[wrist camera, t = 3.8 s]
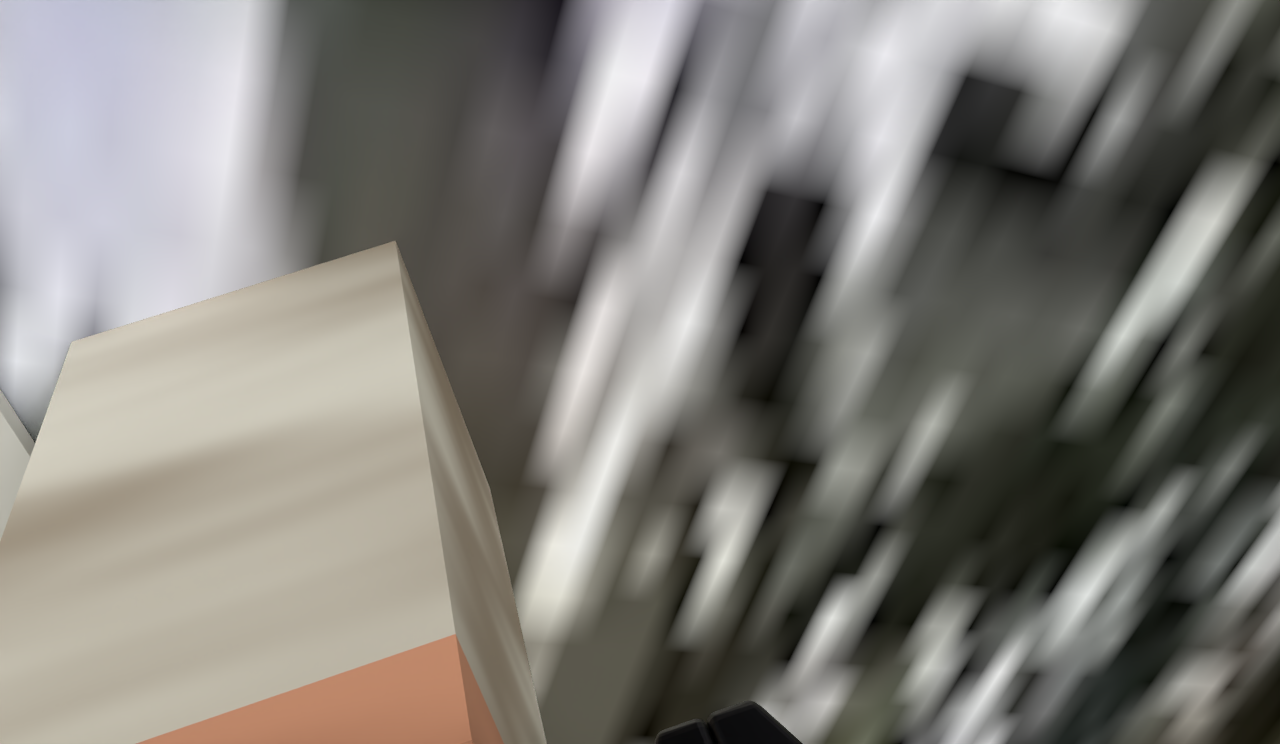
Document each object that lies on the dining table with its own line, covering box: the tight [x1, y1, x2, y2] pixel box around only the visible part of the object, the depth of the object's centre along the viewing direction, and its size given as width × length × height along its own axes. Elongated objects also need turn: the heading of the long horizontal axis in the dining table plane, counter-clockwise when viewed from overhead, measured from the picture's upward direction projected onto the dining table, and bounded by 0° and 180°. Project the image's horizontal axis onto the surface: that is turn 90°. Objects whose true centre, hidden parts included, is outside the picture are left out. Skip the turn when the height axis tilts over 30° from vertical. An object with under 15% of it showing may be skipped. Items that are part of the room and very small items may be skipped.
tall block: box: [0, 241, 547, 744], centre depth 12 cm, size 4×4×8 cm
